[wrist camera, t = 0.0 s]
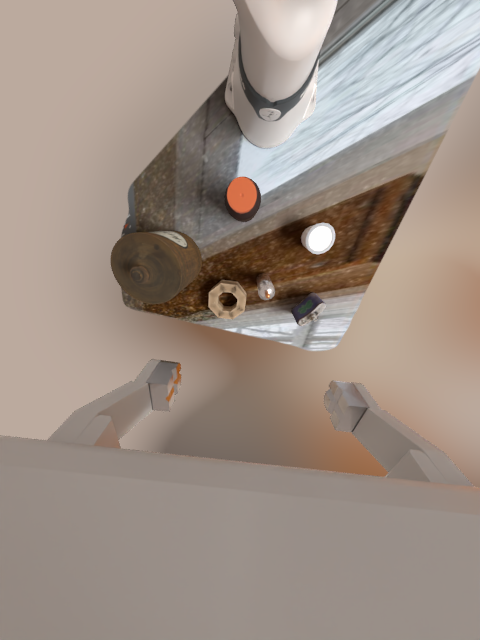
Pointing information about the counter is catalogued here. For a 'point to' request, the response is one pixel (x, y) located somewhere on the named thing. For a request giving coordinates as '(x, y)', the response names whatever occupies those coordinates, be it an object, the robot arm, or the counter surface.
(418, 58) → the counter surface
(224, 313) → the bead
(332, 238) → the white short cylinder
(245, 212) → the bottle
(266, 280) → the white candle
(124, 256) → the wooden container
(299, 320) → the flask
